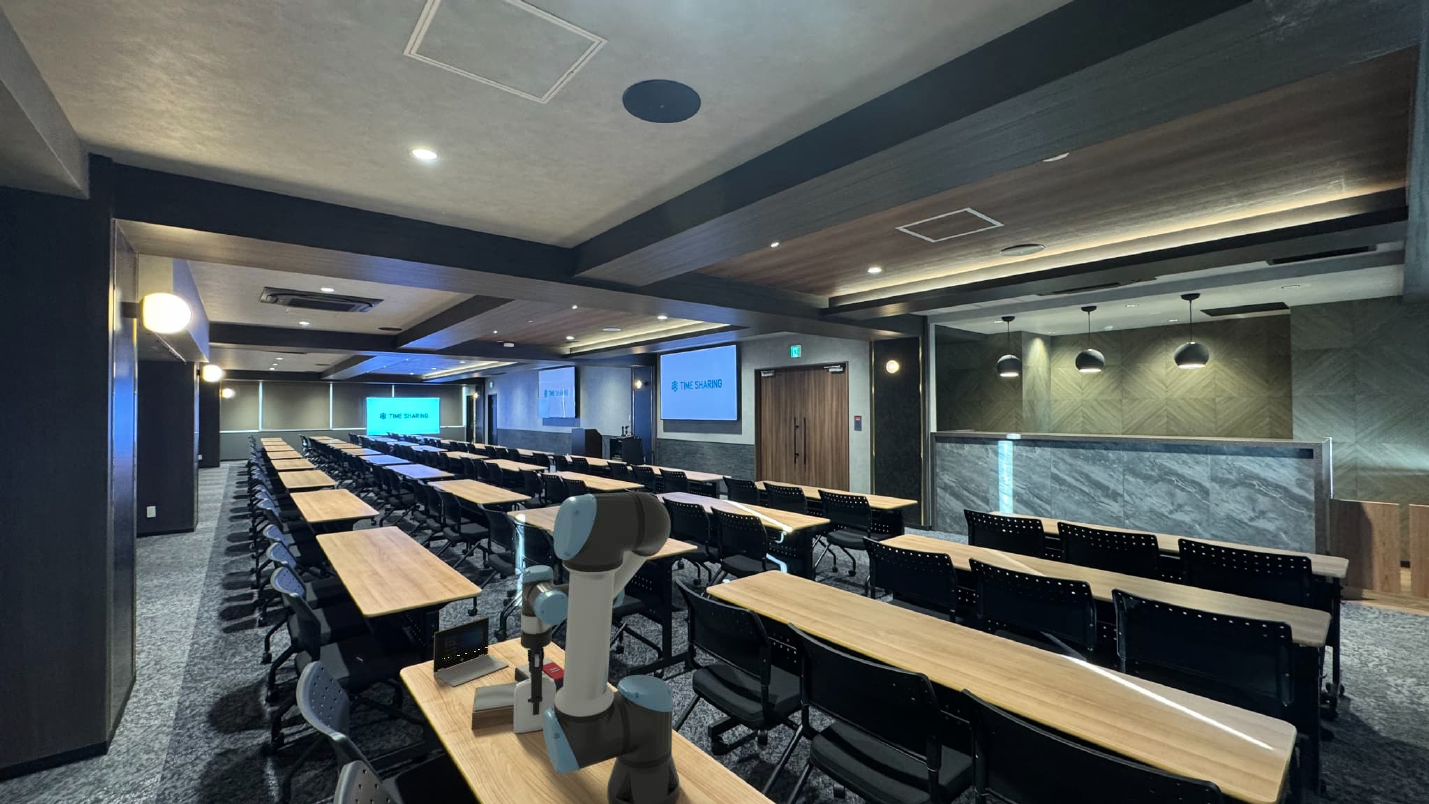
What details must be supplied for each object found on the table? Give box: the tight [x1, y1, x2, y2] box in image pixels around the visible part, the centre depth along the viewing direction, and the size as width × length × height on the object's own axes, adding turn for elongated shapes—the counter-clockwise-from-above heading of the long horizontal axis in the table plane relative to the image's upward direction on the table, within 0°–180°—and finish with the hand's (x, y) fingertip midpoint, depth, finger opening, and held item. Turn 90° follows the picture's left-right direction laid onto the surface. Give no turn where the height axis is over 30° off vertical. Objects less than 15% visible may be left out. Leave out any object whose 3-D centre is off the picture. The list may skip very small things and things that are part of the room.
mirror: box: [471, 681, 522, 730], centre depth 151 cm, size 14×14×4 cm
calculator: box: [514, 657, 564, 692], centre depth 167 cm, size 11×4×15 cm
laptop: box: [432, 616, 510, 687], centre depth 174 cm, size 18×12×13 cm
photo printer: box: [513, 677, 557, 734], centre depth 143 cm, size 10×4×12 cm, turn 109°
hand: (534, 711), depth 143 cm, fingers open, 13 cm apart
